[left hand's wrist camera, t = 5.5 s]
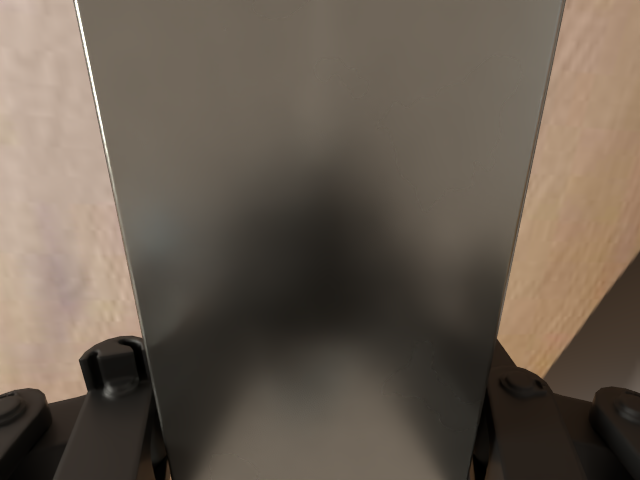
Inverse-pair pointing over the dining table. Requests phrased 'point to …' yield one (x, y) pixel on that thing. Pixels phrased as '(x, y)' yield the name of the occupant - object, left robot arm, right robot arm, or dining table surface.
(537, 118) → the bar
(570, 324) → the dining table surface
